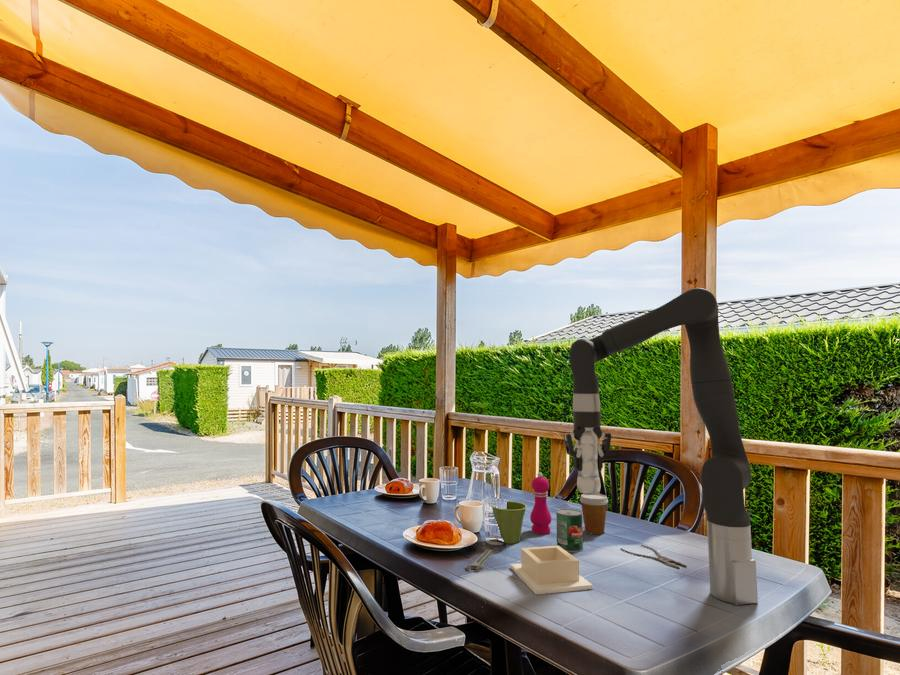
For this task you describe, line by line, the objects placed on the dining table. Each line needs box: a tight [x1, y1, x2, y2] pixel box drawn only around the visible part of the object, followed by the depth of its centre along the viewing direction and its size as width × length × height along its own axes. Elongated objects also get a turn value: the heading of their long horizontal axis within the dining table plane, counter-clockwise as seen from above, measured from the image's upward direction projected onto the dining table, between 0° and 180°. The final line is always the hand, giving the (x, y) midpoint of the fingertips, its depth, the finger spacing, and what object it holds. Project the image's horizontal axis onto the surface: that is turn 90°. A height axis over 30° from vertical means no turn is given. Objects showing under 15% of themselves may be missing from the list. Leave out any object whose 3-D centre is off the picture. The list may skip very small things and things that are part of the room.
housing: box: [510, 545, 593, 595], centre depth 130 cm, size 18×15×6 cm
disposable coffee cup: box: [579, 493, 609, 535], centre depth 172 cm, size 10×10×12 cm
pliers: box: [620, 544, 688, 570], centre depth 147 cm, size 10×1×20 cm
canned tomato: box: [555, 508, 584, 553], centre depth 154 cm, size 8×8×11 cm
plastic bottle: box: [575, 428, 602, 495], centre depth 140 cm, size 6×7×20 cm
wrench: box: [466, 545, 499, 573], centre depth 144 cm, size 5×20×1 cm, turn 159°
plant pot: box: [490, 500, 528, 545], centre depth 162 cm, size 12×12×11 cm
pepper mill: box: [529, 472, 552, 535], centre depth 172 cm, size 7×7×20 cm
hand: (588, 470), depth 139 cm, fingers closed on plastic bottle, 5 cm apart
